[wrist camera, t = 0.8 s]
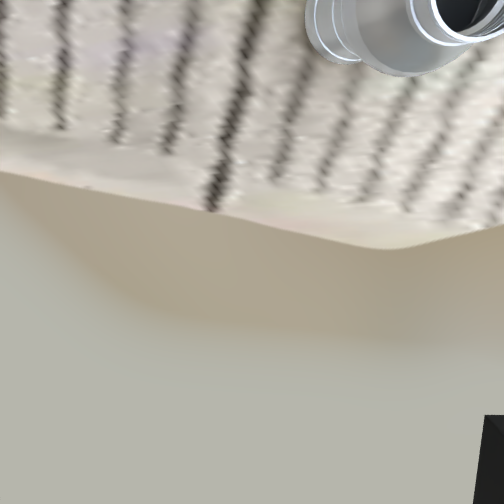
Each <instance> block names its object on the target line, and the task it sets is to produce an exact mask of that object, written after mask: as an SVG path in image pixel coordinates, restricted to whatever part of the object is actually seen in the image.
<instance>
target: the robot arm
mask: <svg viewBox="0 0 504 504" xmlns="http://www.w3.org/2000/svg"><path fill="white" fill-rule="evenodd" d="M473 504H504V415H485V417H484V425H483V432H482V439H481V447H480V455H479V462H478V470H477V477H476V484H475V492H474V499H473Z"/></svg>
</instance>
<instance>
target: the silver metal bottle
mask: <svg viewBox="0 0 504 504" xmlns="http://www.w3.org/2000/svg"><path fill="white" fill-rule="evenodd" d="M305 27H306V31H307V35H308V38H309V40H310V42H311V44H312V46H313V47H314V48H315V50H316V51H317V52H318V53H319V54H320V55H321V56H322V57H324V58H325V59H327V60H329V61H331V62H334V63H337V64H347V65H348V64H355V63H359V62H362V61H364V62H365V63H366V64H367V65H369V66H371V67H372V68H374V69H376V70H378V71H380V72H381V73H385V74H388V75H391V76H397V77H413V76H420V75H424V74H426V73H429V72H432V71H435V70H437V69H439V68H441V67H442V66H444V65H446V64H448V63H450V62H451V61H453V60H455V59H456V58H458V57H459V56H460V55H461V54H463V53H464V52H465V51H466V50H468V49H469V48H470V47H471V45H472V44H473V43H475V42H482V41H485V40H488V39H491V38H493V37H496V36H498V35H500V34H502V33H503V32H504V0H307V3H306V9H305Z"/></svg>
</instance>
